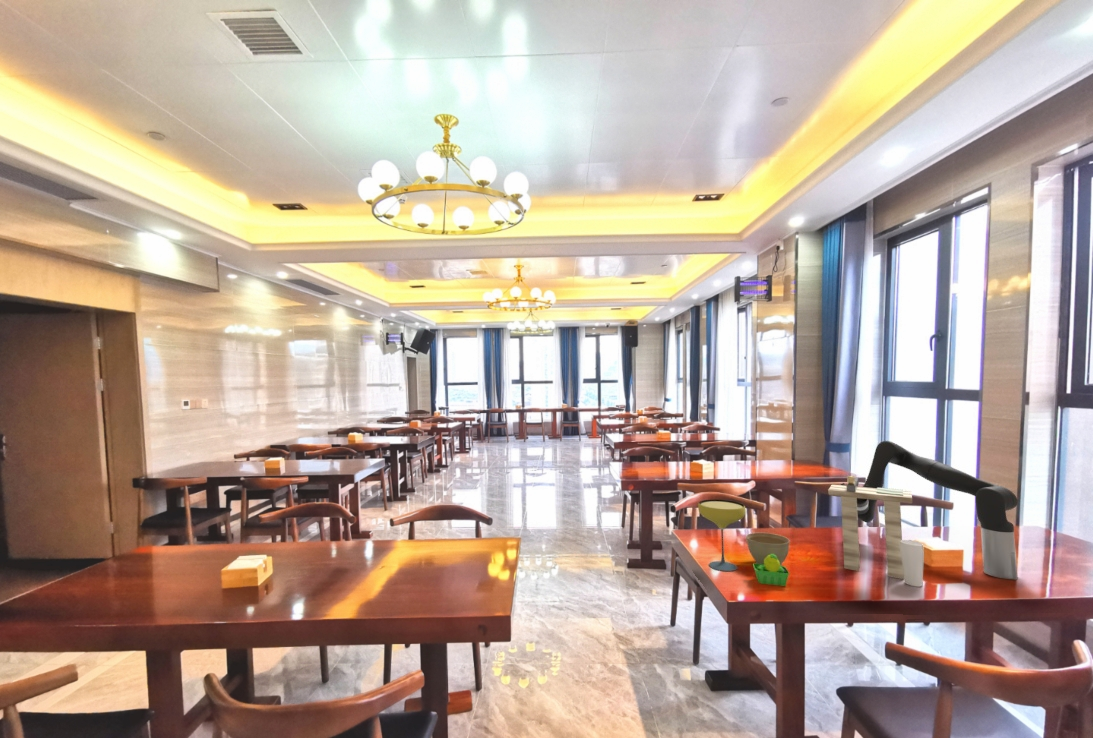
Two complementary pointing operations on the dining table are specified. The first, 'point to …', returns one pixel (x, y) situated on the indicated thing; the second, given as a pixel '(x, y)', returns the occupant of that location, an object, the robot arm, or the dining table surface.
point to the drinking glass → (912, 562)
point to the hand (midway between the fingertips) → (855, 486)
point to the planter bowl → (767, 546)
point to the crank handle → (852, 483)
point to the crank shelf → (891, 524)
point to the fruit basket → (771, 571)
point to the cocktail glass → (722, 522)
